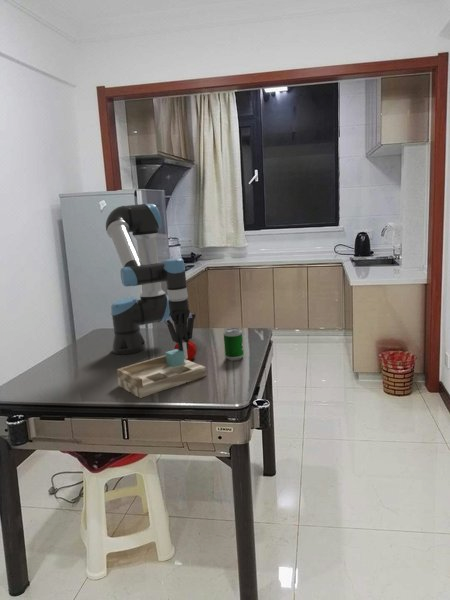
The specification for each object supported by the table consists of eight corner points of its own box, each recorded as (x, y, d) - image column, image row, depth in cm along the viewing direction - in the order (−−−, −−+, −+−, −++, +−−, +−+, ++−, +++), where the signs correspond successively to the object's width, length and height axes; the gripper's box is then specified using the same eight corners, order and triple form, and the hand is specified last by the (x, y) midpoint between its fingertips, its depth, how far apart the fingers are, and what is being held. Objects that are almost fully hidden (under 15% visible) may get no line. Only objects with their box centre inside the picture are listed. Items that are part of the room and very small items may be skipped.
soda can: (242, 360, 205) (240, 332, 202) (224, 361, 206) (221, 332, 204) (245, 354, 212) (243, 327, 209) (227, 355, 214) (225, 327, 211)
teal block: (166, 364, 197) (165, 352, 196) (177, 361, 200) (176, 348, 199) (173, 367, 193) (171, 354, 192) (184, 363, 196) (183, 351, 195)
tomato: (180, 364, 207) (178, 346, 205) (172, 358, 215) (170, 341, 213) (201, 359, 211) (199, 342, 210) (192, 354, 219) (190, 337, 217)
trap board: (118, 385, 189) (116, 369, 187) (182, 365, 205) (180, 350, 203) (140, 398, 175) (138, 380, 174) (206, 375, 191) (204, 359, 190)
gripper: (187, 294, 200) (193, 351, 205) (158, 301, 193) (165, 360, 198) (197, 297, 194) (203, 355, 199) (168, 303, 187) (174, 364, 192)
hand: (184, 357), depth 199 cm, fingers closed
